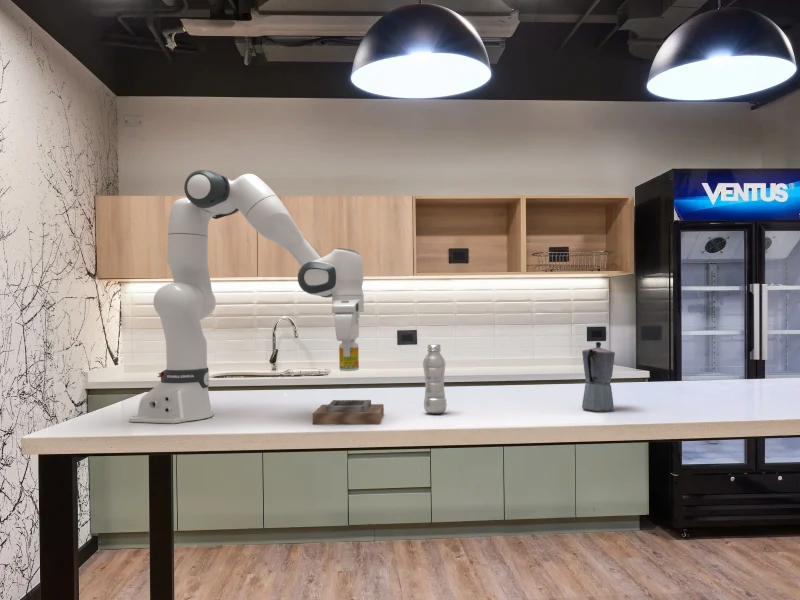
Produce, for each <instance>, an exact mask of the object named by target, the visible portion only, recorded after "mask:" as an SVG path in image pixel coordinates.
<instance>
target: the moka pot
mask: <svg viewBox="0 0 800 600" xmlns="http://www.w3.org/2000/svg"><path fill="white" fill-rule="evenodd" d="M601 345H602V343H601V342H600V341H597V342H595V347H592V348H587V349H584V350H582V353H581V354H582V363H583V372H584V377H585V384H584V390H583V391H584V392H583V397H582V403H581V408H582V409H583V410H587V411H594V412H612V411H614V410H615V406H614V405H615V404H614V398H613V390H612V389H613V388H612V385H611V383H612V377H613V371H614V365H615V364H614V363H615V357H616V356H615V355H616V352H614V351H612V350H608V349H606V348H602V347H601Z"/></svg>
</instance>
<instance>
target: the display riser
mask: <svg viewBox="0 0 800 600" xmlns="http://www.w3.org/2000/svg"><path fill="white" fill-rule="evenodd" d="M384 406H385V405H384V403H372V400H371V399H332V400H331V402H330V403H329V404H321V405H320V406H319V407H318V408H317V409H316V410H314V411H313V412H312V425H380V424H381V422H382V420H381V419H383V418H384V415H385V414H384V413H385V411H384ZM380 421H381V422H380Z"/></svg>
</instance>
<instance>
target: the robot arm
mask: <svg viewBox="0 0 800 600" xmlns="http://www.w3.org/2000/svg"><path fill="white" fill-rule="evenodd" d="M183 187H184V188H183V189H184V193H185V196H186V197H181V198H179V199H176V200H175V201H174V202H173V203H172V205H171V207H170V213H169V215H168V216H169V217H168V225H167V246H166V247H167V248H166V249H167V250H166V251H167V252H166V255H167V256H166V260H167V265H168V266H169V269H170V272H171V275H172V278H173V282H172V283H167V284H165V285H163V286H161V287H160V288H159V289H157V291H156V292H155V294H154V296H153V302H152V304H153V307H154V310H155V312H156V313H157V315H158V316H159V319H160V321H161V326H162V329H163V334H164V338H165V346H166V349H165V350H166V353H165V354H166V368H165V370H163V371H161V372H158V373H157V378H160V382H159V383H158V384H157V385H155V387H153V388H152V389H150V390H149V391H148V392H147V393H146V394H144V395H142V397H141V399H140V401H139V404H138V409H137V410H138V411H137V413H135V414H133V415H131V416H130V417H129V422H131V423H133V422H134V423H156V424H157V423H158V424H159V423H160V424H178V423H184V422H190V421H197V420H198V421H199V420H204V419H208V418H210V417H213V416H214V413H213V409H212V405H211V401H210V395H209V385H210V384H209V383H210V372H209V367H208V345H207V344H208V342H207V339H206V337H205V335H204V332H203V330H202V329H203V328H202V325H201V324H202V323H201V320H204V319H205V318H207V317H209V316H210V315H211V314H213V312H214V310H215V309H216V304H217V303H216V302H217V300H216V297H215V295H214V293H213V292H214V291H213V289H212V283H211V278H210V277H211V276H210V272H209V264H208V262H209V261H208V250H209V249H208V246H209V245H208V244H209V239H208V238H209V237H208V236H209V222H210V220H211V219H212V218H213V219H214V220H218V219H221V218H224V217H228V216H232V215H235V214H236V213H238V212H240V213H241V214H242V216H243V217H244V218H245V220H246V221H247V222H248V223H249V224H250V226H251V227H252V228H253V229H254V230H255V231H257V233H258V234H260V235H261V236H262V237H264V238H266V239H267V240H269V241H272V242H273V243H275V244H276V245H279V246H280V247H282V248H284V249H285V250H286V251H288V253H289V254H291V256H292V257H293V258H294V260H295V261H297V263H298V264H299V265H300V266H301V267H300V268H299V270H298V273H297V283H298V286H299V287H300V289H301V290H302V291H303V292H305V293H307V294H309V295H314V296H319V297H322V298H331V305H332V306H331V313H332V314H334V316H333V318H334V328H335V329H334V330H335V337H336V340H337V341H338V342H341V343H342V347H343V356H344V357H349V356H350V355H351V354H350V340H352V339H354V336H355V335H356V339H357V338H359V336H360V323H359V322H360V321H359V319H360V313H364V311H365V306H364V304H365V303H364V301H365V300H364V291H363V284H364V266H363V260H362V256H361V255H360V253H359V252H357V251H356V250H353V249H348V248H341V247H340V248H339V247H338V248H334V249H333V250H332V251H331V252H329V253H328V254H326V255H325V256H322V255H320V254H319V253H318V252H317V251H316V249H315V248H314V246H313V245H312V244H311V243H310V242H309V241H308V239H307V238H306V237H305V236H304V234H303V233H302V232H301V230H300V229H299V227H298V226H297V224H296V223H295V220H293V218H292V216H291V215H290V212H289V210H288V209H287V208H286V206H285V204H284V203H283V202H282V200H281V199H280V198H279V197H278V195H277V194H276V193H275V191H273V189H272V188H271V187H270V186H269V185H267V184H266V182H264V181H263V180H262V179H261V178H260V177H259V176H257V175H256V174H253V173H245V174H242V175H239V176H238V177H237V178H235V179H234V180H233V179H232V180H231V179H229V178H228V177H227V176H225V175H222V174H220V173H217V172H214V171H211V170H205V169H200V170H195V171H193V172H191V173H190V174H189V175H188V176H187V177H186V179H185V182H184V186H183Z"/></svg>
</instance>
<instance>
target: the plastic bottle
mask: <svg viewBox="0 0 800 600" xmlns="http://www.w3.org/2000/svg"><path fill="white" fill-rule="evenodd" d="M426 351H427V352H428V353H427V354H426V356H425V357H424V359H423V362H422V366H423V374H424V382H425V383H424V384H425V386H424V389H425V391H424V399H423V408H424V411H425V413H428V414H432V415H438V414H443V413H445V412H446V411H447V405H448V404H447V398H446V393H445V391H446V390H445V371H446V361H445V358H444V357H443V356H442V354H441V344H428V345H427V350H426Z"/></svg>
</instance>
